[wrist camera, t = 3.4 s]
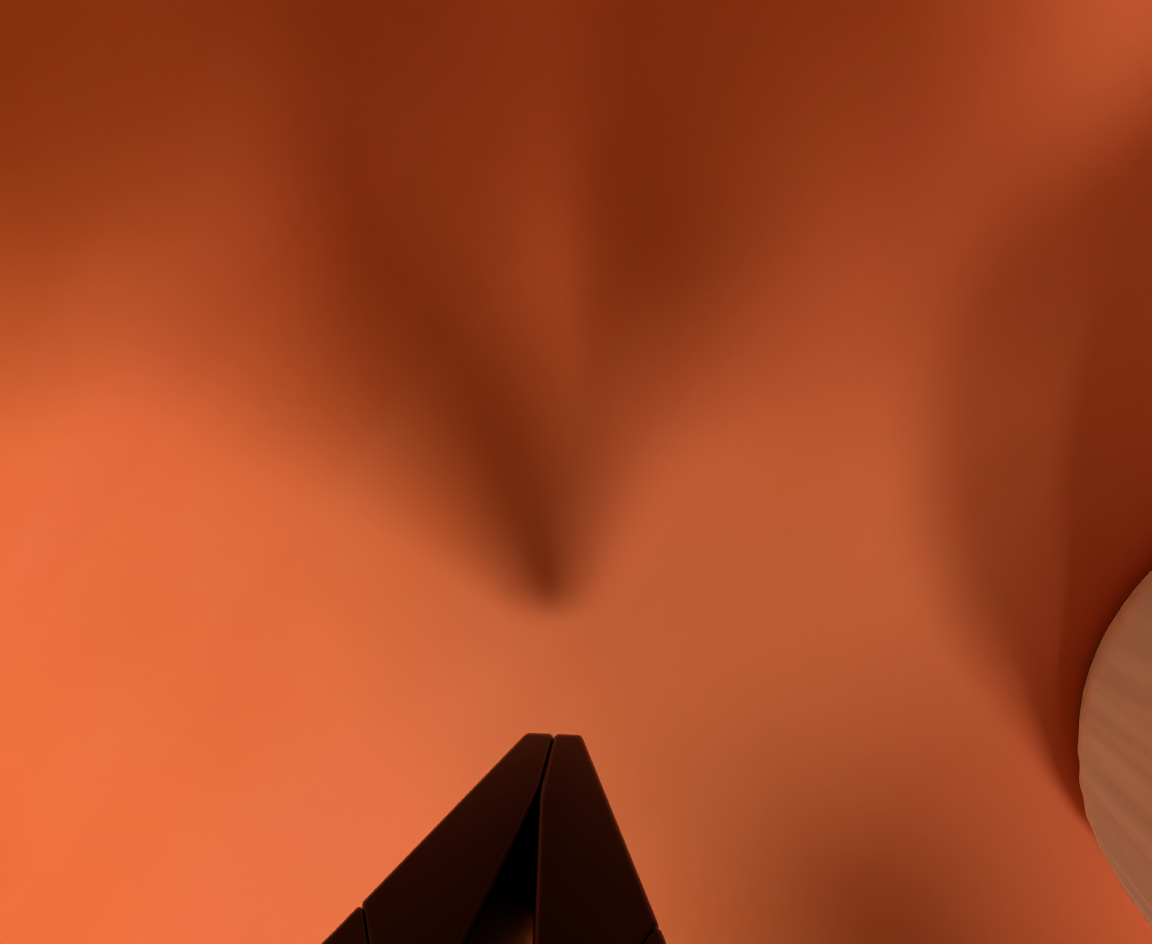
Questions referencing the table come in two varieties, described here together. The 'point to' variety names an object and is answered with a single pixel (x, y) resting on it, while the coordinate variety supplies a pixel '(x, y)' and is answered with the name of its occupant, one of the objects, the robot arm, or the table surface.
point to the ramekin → (1121, 746)
